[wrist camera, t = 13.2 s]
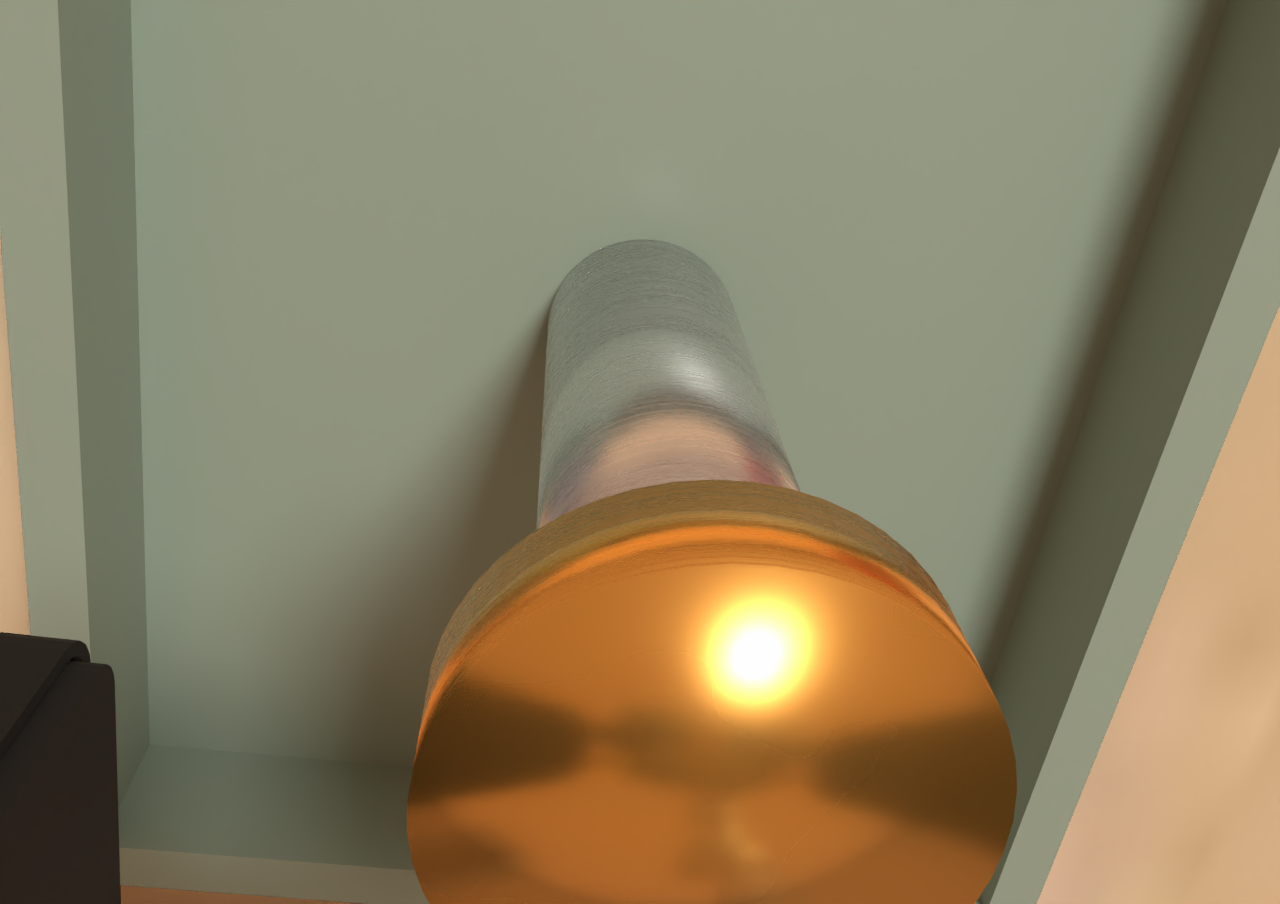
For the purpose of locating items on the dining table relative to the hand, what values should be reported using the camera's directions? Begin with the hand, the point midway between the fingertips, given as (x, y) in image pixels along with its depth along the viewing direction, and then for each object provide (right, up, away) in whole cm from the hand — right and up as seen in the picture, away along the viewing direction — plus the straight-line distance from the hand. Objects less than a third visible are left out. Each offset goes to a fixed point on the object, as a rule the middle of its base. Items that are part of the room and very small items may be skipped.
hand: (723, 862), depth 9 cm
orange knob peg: (-1, +5, +9) cm, 10 cm away
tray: (-1, +5, +9) cm, 11 cm away
